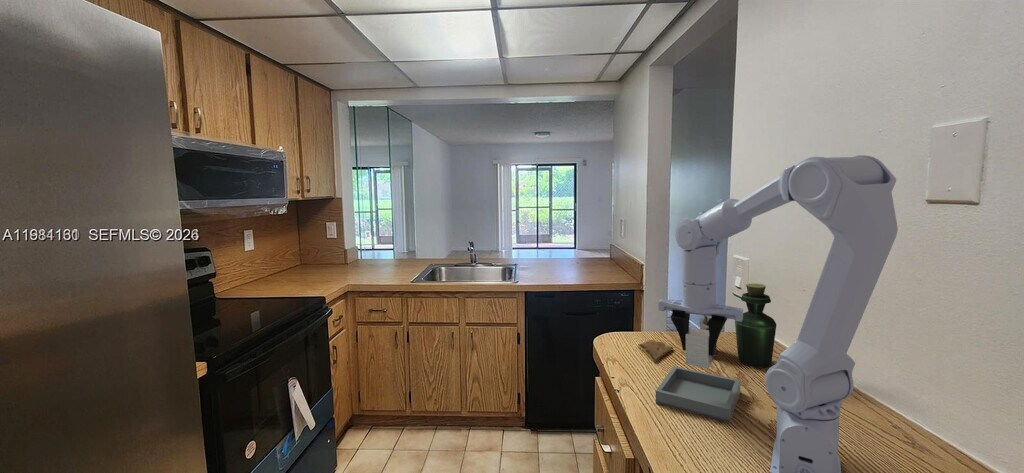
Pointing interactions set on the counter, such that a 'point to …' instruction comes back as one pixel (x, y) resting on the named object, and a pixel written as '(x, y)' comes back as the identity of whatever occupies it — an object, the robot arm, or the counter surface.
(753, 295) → the potion bottle
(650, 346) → the shard
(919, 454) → the counter surface
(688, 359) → the aluminium block
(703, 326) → the lighter
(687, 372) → the tray
